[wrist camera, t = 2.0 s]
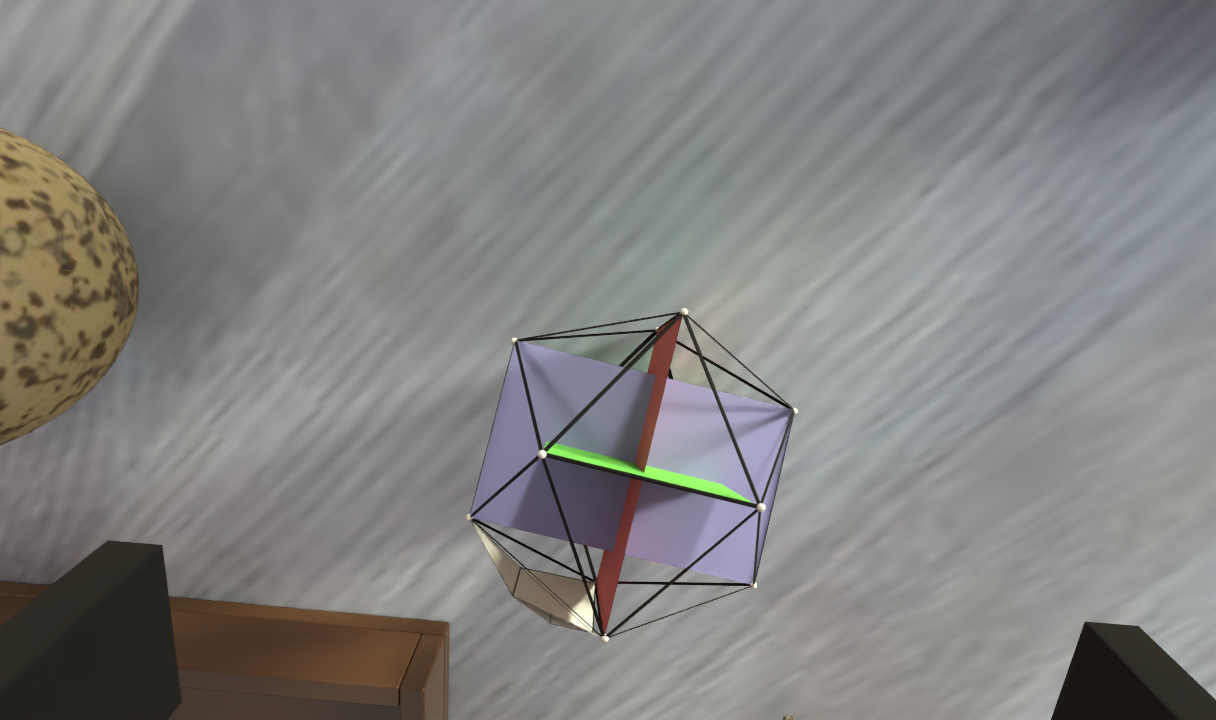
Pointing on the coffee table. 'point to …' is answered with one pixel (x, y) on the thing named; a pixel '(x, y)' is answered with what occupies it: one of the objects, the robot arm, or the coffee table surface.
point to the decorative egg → (56, 286)
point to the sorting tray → (296, 661)
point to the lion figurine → (788, 718)
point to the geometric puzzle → (627, 472)
